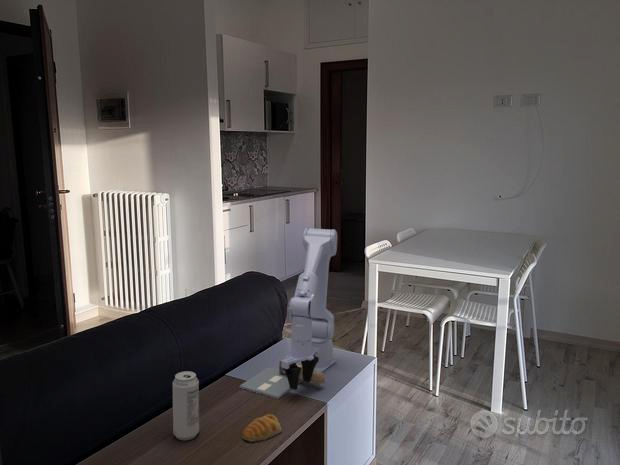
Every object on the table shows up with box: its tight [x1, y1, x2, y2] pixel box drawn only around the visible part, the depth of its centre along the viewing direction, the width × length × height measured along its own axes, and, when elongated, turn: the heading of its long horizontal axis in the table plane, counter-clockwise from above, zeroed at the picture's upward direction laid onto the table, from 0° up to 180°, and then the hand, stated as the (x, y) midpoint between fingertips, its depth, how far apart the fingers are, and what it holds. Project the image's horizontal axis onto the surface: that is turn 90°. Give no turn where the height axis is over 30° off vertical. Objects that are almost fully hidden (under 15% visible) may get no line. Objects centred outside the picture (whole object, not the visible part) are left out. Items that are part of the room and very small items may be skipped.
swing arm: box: [278, 360, 326, 386], centre depth 156 cm, size 16×3×3 cm, turn 52°
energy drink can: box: [172, 370, 200, 441], centre depth 125 cm, size 6×6×15 cm
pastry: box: [241, 413, 282, 443], centre depth 127 cm, size 9×7×4 cm
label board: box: [239, 366, 303, 400], centre depth 155 cm, size 15×13×1 cm
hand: (300, 384), depth 149 cm, fingers open, 6 cm apart
